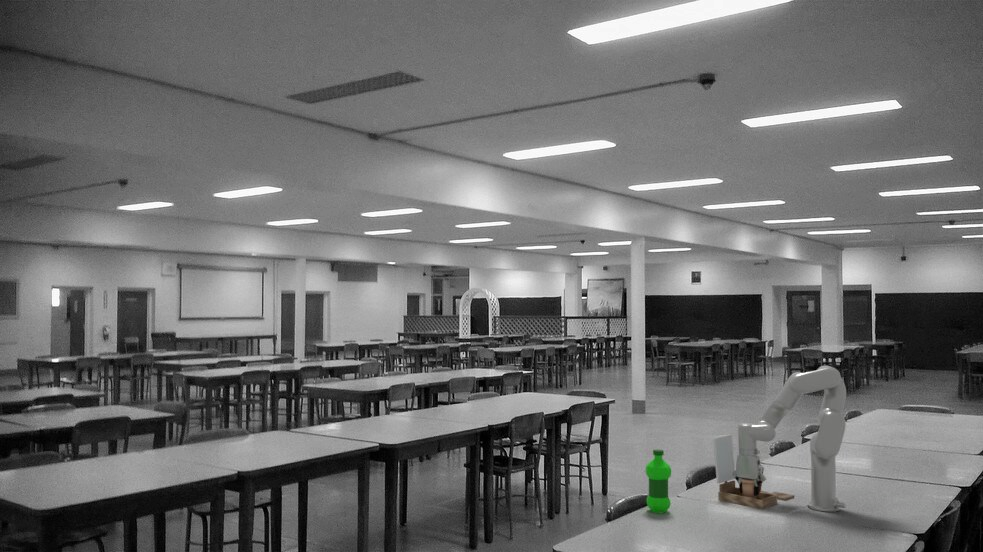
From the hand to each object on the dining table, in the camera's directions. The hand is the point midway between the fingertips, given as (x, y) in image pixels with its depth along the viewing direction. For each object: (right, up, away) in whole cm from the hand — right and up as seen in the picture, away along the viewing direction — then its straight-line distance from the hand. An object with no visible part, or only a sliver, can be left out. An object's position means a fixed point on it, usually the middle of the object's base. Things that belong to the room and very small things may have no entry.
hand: (749, 493), depth 323 cm
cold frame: (-2, -4, +1) cm, 4 cm away
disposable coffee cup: (+9, -5, +20) cm, 23 cm away
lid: (-8, +13, +8) cm, 18 cm away
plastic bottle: (-43, -3, -15) cm, 46 cm away
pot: (0, -2, 0) cm, 2 cm away
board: (+16, -5, +8) cm, 19 cm away
